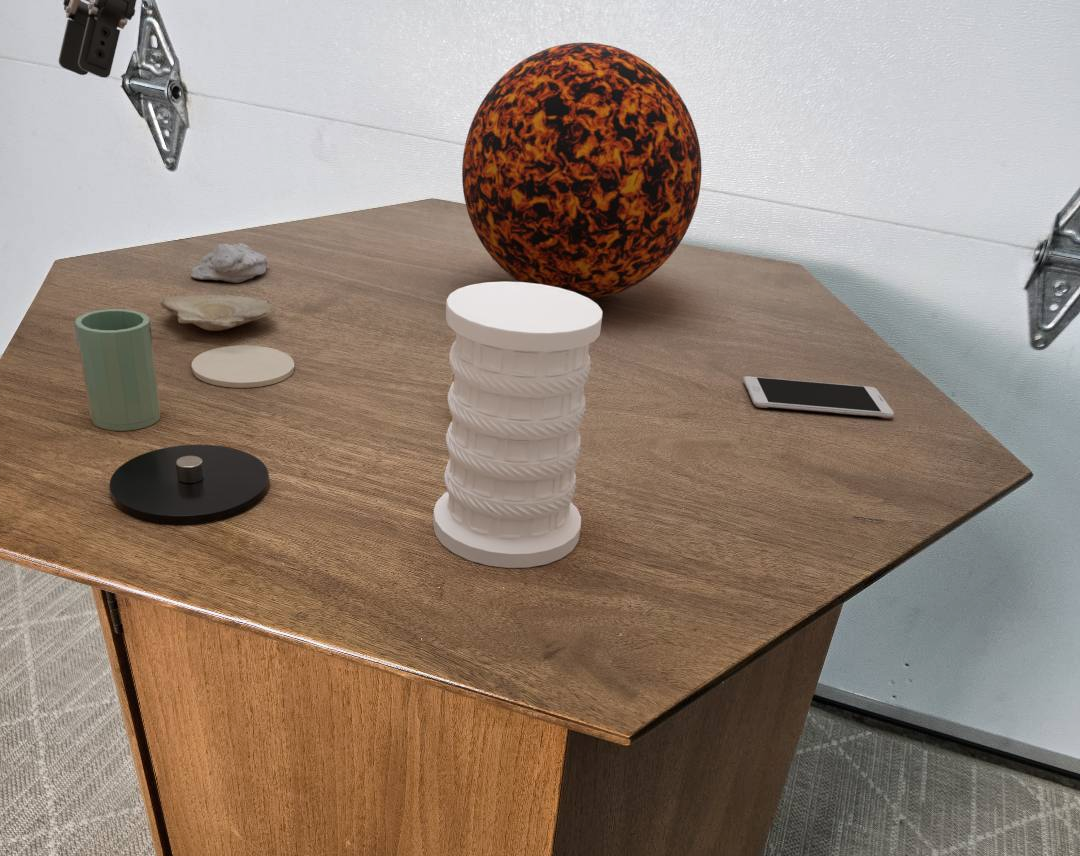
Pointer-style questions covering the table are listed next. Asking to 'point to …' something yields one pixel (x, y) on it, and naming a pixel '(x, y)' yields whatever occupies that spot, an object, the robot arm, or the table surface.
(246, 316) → the seashell
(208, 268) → the stone
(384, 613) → the table surface
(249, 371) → the coaster
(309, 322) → the table surface
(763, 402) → the smartphone
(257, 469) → the lid
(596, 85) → the ball
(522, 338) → the decorative container
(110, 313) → the pot
